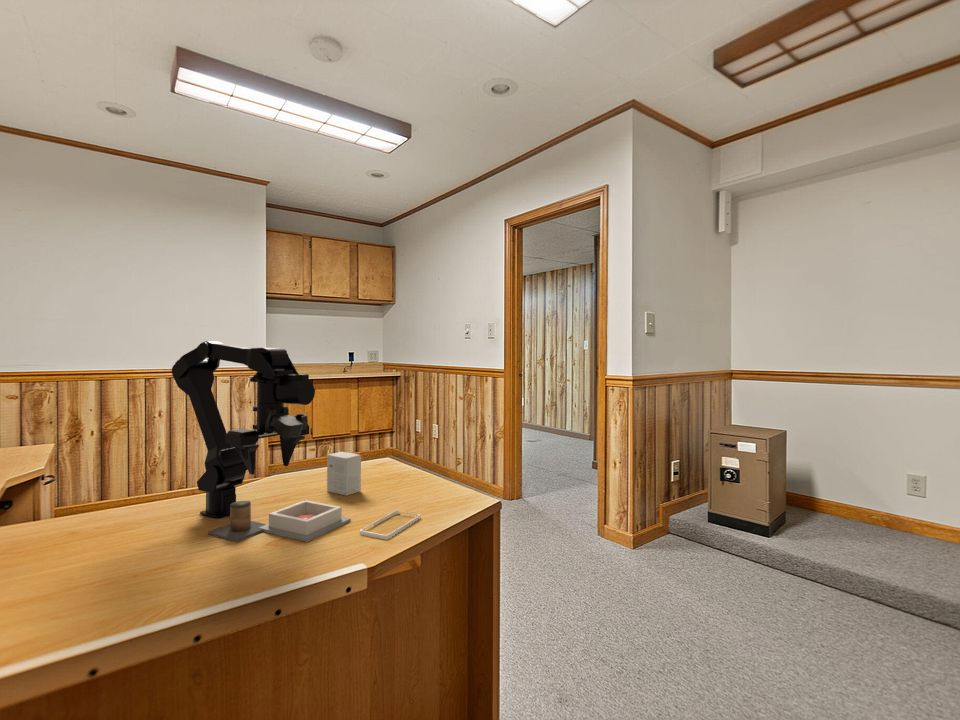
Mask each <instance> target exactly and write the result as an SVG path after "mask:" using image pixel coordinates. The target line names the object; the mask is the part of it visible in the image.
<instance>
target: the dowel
mask: <svg viewBox="0 0 960 720" xmlns="http://www.w3.org/2000/svg"><path fill="white" fill-rule="evenodd" d="M251 507H252V505H251V501H249V500H239V501H237V500H236V502H234V503H232V504H230V514H229V516H230V519H229V524H230V530H231V531H232V532H242V531H246V530H248V529H250V528H251V521H252V518H251V517H252V516H251V515H252V509H251Z"/></svg>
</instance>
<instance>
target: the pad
mask: <svg viewBox="0 0 960 720" xmlns="http://www.w3.org/2000/svg"><path fill="white" fill-rule="evenodd" d="M266 524H267V523H262V522H257V521H254V520H251V528H250V529H248V530H246V531H242V532H232V531H231V530H230V523H229V524H226V525H223V526H220V527H216V528H215V529H212V530H209V531H207V535H209V536H213V537H215V538H220V539H225V540H229V541H232V542H236V543H238V542H240V541H244V540H246V539H248V538H250V537H253V536H255V535H258V534H260V533H264V532H263V529H260V528H258V527H261V526H264V525H266Z"/></svg>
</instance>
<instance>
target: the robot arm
mask: <svg viewBox="0 0 960 720" xmlns="http://www.w3.org/2000/svg"><path fill="white" fill-rule="evenodd" d="M221 361H226V362H232V363H235V364H241V365H245V366H246V367H247V368H248V369H250V370H251V371H254V372H256V373H255V374H254V375H253V376H252V377H250V379H249V382H250V383H256V386H257V387H256V406H252V412H256V423H255V424H252V429H247V428H237V429H232V430H228V431H227V430H226V428H225V424H224V422H223V418H222V416H221V414H220V410H219V408H218V404H217V402H216V399H215V396H214V393H213V390H212V388H213V386H214V385H213V384H214V381H215V374H214V372H215V371H216V370H217V369H218V368H220V363H221ZM171 375H172V377H173V379H174V382H175V383H176V385H177V387H178V388H179V389H180V390H181V391H183V392H184V393H185V394H186V395H187V396H188V397H189V400H190V403H191V405H192V408H193V411H194V415H195V417H196V420H197V423H198V427H199V429H200V432H201V435H202V438H203V440H204V444H205V446H206V450H207V453H206V456H205V460H204V469H205V471H204V472H203V474H202V475H201V476H200V478H199V479H198V480H197V481H196V484H197V489H198V491H200V492H204V493H205V510H202V511H199V515H203V516H205V517H210V518H211V517H212V518H214V519H218V518H222V517H227V516H228V515H229V516H230V504H232V503H234V502H237V493H236V486H238V485H243V483H244V479H245V476H246V474H247V471H248V473H249V475H252V476H253V475H255V472H256V451H257V450H258V449H259V447H260V444H257V443H258V441H259V439H265V438H271V437H275V436H279V444H280V452H281V459H282V460H281V461H282V464H283V466H284V467H288V466H289V465H290V462H291V459H292V456H293V454H294V450H295V448H296V447H297V444H298V443H300V442H301V441H302V440H303V439H305V438H306V436H308V435H310V426H309V424H308V423H309V422H308V415H307V414H305V413H297V414H296V415H293V414H292V415H290V413H289V406H285V404H287V405H298V406H299V405H301V406H307V405H309V404H310V403H312V401H313V400H314V398H315V394H316V389H315V387H314V383H313V382H312V381H311V380H310V379H309V378H310V377H309V376H310V375H309V374H307V373H305V374H303V373H302V374H299V373H298V371H297V368H296V367H295V365H294V363H293V362H292V360H291V358H290V357H289V353H288V351H287V350H286V349H285V348H282V347H247V346H242V345H240V346H239V345H234V344H229V343H223V342H221V341H213V340H210V341H208V340H206V341H202V342H201V343H200V344H198V346H196V348H194V349H192V350H190V351H187V353H185V354H183V355H182V356H180V358H179V359H177V361H175V363H174V364H173V365H172V367H171Z"/></svg>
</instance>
